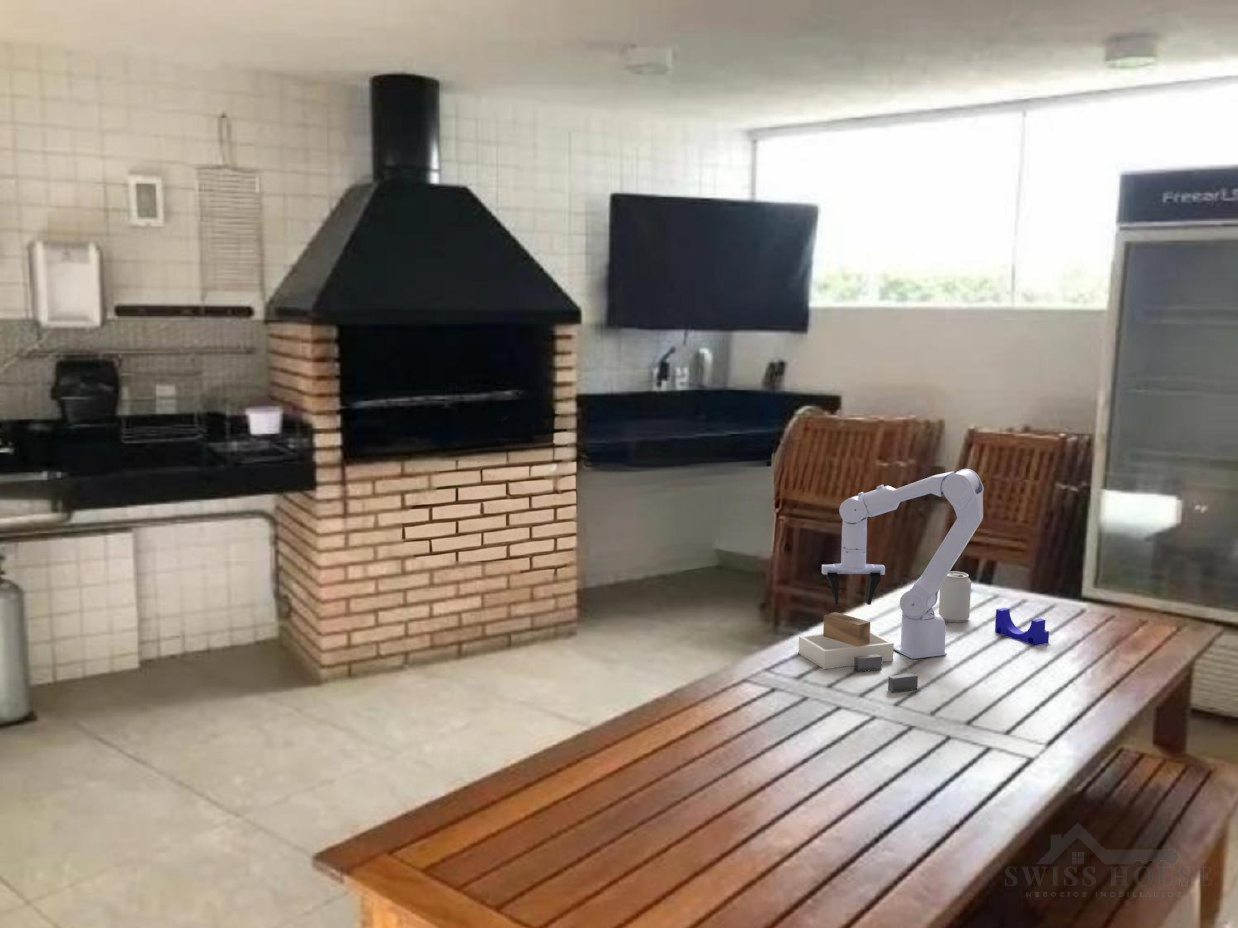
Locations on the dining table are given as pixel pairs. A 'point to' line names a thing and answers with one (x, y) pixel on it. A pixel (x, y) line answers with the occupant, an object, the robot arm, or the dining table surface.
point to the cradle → (894, 682)
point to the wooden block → (846, 629)
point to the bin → (841, 650)
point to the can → (955, 597)
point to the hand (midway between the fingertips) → (852, 603)
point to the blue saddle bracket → (1007, 628)
